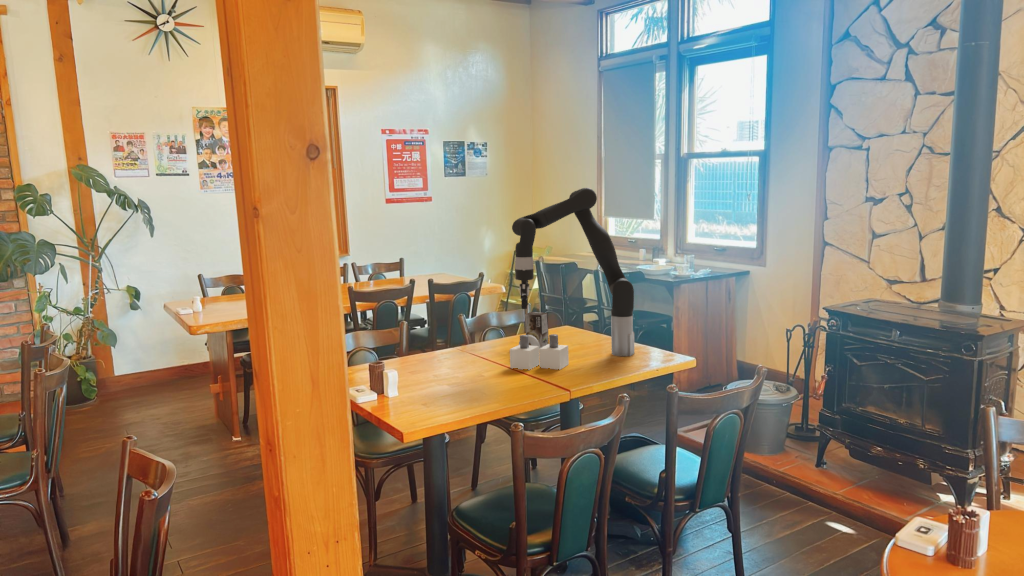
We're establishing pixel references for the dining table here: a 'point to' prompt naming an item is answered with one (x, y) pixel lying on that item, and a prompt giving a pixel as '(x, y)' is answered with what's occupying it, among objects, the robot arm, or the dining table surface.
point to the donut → (532, 341)
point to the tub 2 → (553, 354)
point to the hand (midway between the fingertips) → (524, 307)
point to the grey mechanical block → (537, 327)
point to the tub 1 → (524, 355)
